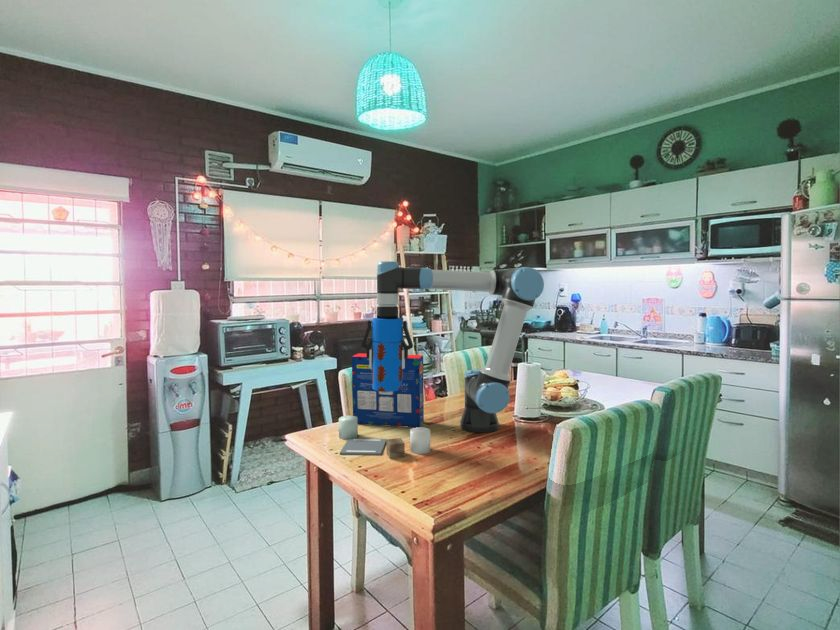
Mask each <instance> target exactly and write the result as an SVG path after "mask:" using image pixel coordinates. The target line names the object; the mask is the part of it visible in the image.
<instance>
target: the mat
mask: <svg viewBox="0 0 840 630" xmlns="http://www.w3.org/2000/svg"><path fill="white" fill-rule="evenodd" d="M386 439H387V438H349V439H348V440H346V442H345V444H344V445H343V447H342V448H341V450H340V451H339V455H345V456H346V455H348V456H351V455H352V456H353V455H355V456H357V455H358V456H361V455H362V456H381V455H382V453H383V450H384V448H385V445H386V444H387V440H386Z"/></svg>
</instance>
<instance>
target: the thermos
mask: <svg viewBox="0 0 840 630" xmlns="http://www.w3.org/2000/svg"><path fill="white" fill-rule="evenodd" d="M372 320H373V322H372V329H371V332H372V333H371V339H372V340H373V341H372V346H371V349H372V388H373V390H376V391H381V392H392V391H398V390H401V389H402V378H403V369H402V350H403V349H404V348H403V346H402V342H399V341H402V339H403V340H404V330H403V326H402V325H403V323H402V321H404V319H403V317H398V319H379V318H378V319H377V317H373V318H372Z"/></svg>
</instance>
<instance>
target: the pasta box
mask: <svg viewBox="0 0 840 630" xmlns="http://www.w3.org/2000/svg"><path fill="white" fill-rule="evenodd" d="M351 379H352V381H351V387H352V390H351V391H352V416H356V417H357V419H358V425H365V424H371V425H370V426H382V425H390V426H389V427H398V426H408V427H407V428H414V427H420V426H421V427H422V425H423V424H422V423H424V422H425V420H424V419H425V418H424V417H425V415H424V414H425V412H424V411H425V410H424V409H425V407H424V405H425V403H424V399H425V398H424V397H425V396H424V394H425V392H424V355H423V354H408V358H407V359H405V368H404V369H403V378H402V389H401V390H398V391H392V392H381V391H376V390H373V388H372V368H369V358H367V353H356V354H354V355H352V356H351Z"/></svg>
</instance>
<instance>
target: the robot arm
mask: <svg viewBox="0 0 840 630" xmlns="http://www.w3.org/2000/svg"><path fill="white" fill-rule="evenodd" d="M376 267H377V269H376V305H377V307H376V318H377V319H378V318H379V319H398V318H399V307H398V306H397V305H399V290H403V289H404V290H406V289H408V290H444V291H461V292H463V291H464V292H465V291H466V292H482V293H483V292H485V293H489V294H490V295H493V296H495V295H496V296H501V301H502V303H503V308H502V311H501V315H500V318H499V320H498V324H497V327H496V331H495V334H494V337H493V341H492V344H491V347H490V351H489V354H488V357H487V360H486V364H485V367H482V368H479V369H477V368H476V369H467V370H466V371H464V378H463V379H464V409H463V411H462V414H461V418H460V420H459V423H460V424H459V426H460V428H461V429H463V430H464V431H466V432H467V431H468V432H472V433H481V434H482V433H491V432H495V431H497V430H498V429H499V420H498V417H497V413H500V412H502V411H503V410H505V409H506V408H507V406H508V404H509V403H510V399H511V396H510V392H509V387H510V383H511V377H510V376H509V374H510V369H511V367H512V363H513V360H514V355H515V353H516V350H517V346H518V343H519V339H520V336H521V332H522V330H523V326H524V323H525V320H526V317H527V313H528V312H529V311H530V310H532V309H533V308H534V305H535V302H536V299H538V298H539V297H540V296H541V295H542V293H543V291H544V289H545V280H544V279H543V277H542V274H541V272H540V271H538V270H537V269H535V268H533V267H527V266H521V267H512V268H506V269H491V270H490V271H489V272H486V271H471V270H470V271H465V270H449V269H448V270H447V269H446V270H445V269H432V268H431V267H430V268H429V267H400V265H399V262H398V261H388V260H385V261H383V260H382V261H379V262H378V263H377V266H376ZM372 322H373V319H369V320H367V328H366V331H365V334H364V336H363V339H362V342H361V346H360V347H361V348H363V349H365V350H366V354H367V358H369V368H372V341H373V340H372V338H371V339H370V341H369V342H368V340H369V337H370V335H371V332H372ZM402 323H403V325H402V326H403V334H404V336H405V339H406V341H407V343H406V341H405V340H404V338H403V339H402V341H399V342H402V346H403V350H402V369H404V368H405V359H407V358H408V355H409V350H410V349H413V348H414V344H413V341H412V337H411V336H410V332H409V329H408V321H407V320H403V321H402ZM367 343H368V344H367Z"/></svg>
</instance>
